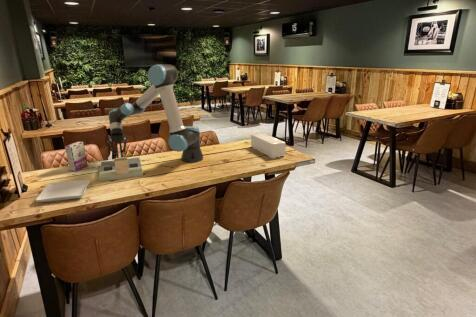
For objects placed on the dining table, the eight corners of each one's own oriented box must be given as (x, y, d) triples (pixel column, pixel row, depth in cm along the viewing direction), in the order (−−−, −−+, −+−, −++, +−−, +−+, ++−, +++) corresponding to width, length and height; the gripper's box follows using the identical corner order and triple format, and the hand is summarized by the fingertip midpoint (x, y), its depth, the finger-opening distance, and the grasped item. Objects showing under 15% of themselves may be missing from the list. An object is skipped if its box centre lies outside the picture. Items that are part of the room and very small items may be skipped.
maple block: (115, 171, 179) (113, 158, 177) (127, 169, 182) (126, 156, 180) (116, 174, 173) (114, 161, 171) (129, 173, 176) (127, 160, 173)
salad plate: (84, 200, 148) (83, 194, 147) (35, 206, 143) (34, 199, 142) (91, 184, 168) (90, 178, 166) (49, 188, 162) (47, 182, 161)
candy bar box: (81, 165, 197) (77, 141, 192) (88, 165, 196) (83, 141, 191) (69, 171, 187) (64, 146, 182) (76, 171, 186) (71, 146, 181)
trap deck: (101, 165, 197) (101, 161, 196) (139, 160, 205) (139, 157, 204) (99, 181, 170) (98, 177, 169) (143, 175, 178) (142, 171, 178)
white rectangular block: (251, 147, 236) (251, 134, 232) (262, 145, 240) (262, 132, 237) (272, 158, 208) (272, 144, 205) (284, 156, 212) (285, 142, 209)
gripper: (127, 132, 204) (131, 163, 195) (106, 134, 200) (109, 165, 190) (126, 126, 198) (130, 157, 189) (105, 128, 193) (108, 160, 184)
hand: (120, 161), depth 189 cm, fingers closed
